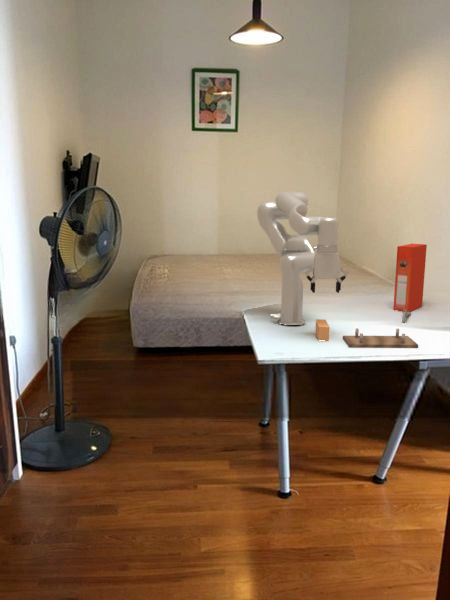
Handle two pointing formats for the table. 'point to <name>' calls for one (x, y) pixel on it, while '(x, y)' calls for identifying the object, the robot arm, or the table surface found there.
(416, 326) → the table surface
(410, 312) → the caliper
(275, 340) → the table surface
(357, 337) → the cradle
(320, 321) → the jaw block
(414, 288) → the file binder
